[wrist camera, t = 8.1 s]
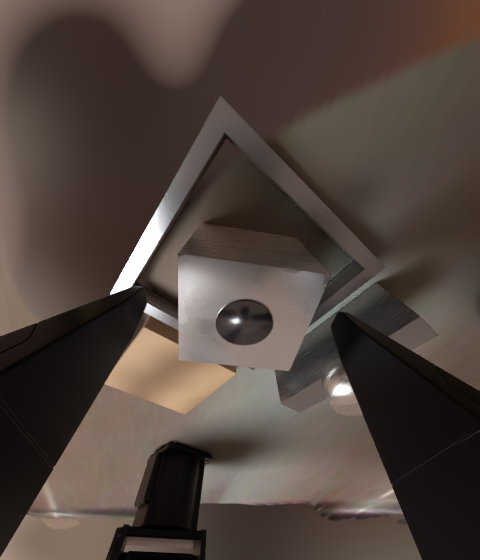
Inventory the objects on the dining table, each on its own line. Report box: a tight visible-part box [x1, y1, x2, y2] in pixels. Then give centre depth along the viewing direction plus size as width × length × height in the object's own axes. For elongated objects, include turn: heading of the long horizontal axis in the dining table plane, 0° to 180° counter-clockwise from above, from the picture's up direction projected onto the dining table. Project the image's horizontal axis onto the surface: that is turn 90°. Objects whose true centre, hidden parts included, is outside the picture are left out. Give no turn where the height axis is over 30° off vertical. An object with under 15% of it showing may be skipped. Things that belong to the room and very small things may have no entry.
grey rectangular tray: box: [110, 96, 438, 416], centre depth 11 cm, size 16×12×5 cm
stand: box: [104, 316, 236, 414], centre depth 16 cm, size 8×8×1 cm
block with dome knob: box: [178, 223, 331, 371], centre depth 10 cm, size 6×6×5 cm
